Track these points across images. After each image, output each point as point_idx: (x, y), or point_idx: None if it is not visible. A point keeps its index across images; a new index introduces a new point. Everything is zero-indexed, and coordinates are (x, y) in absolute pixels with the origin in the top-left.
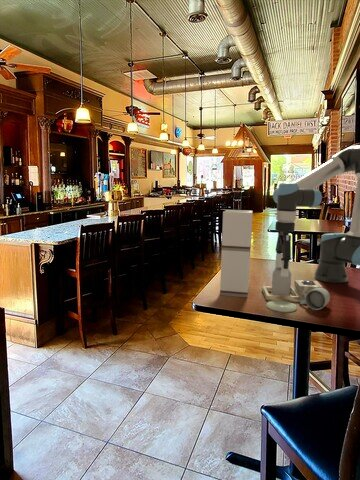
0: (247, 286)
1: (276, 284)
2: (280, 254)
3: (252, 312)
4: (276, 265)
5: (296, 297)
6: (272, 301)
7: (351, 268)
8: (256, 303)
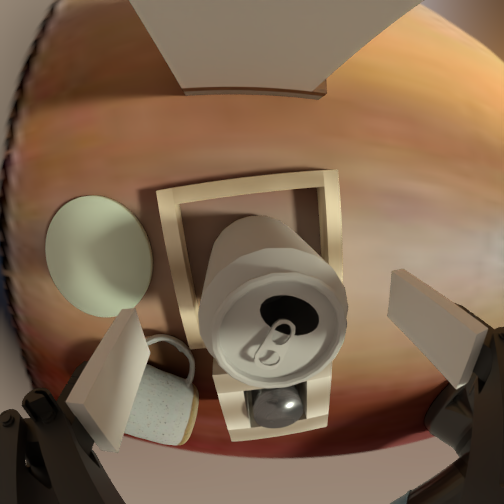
0: (175, 74)
1: (214, 255)
2: (461, 367)
3: (20, 151)
4: (405, 287)
5: (185, 332)
6: (123, 220)
7: None
8: (107, 147)
